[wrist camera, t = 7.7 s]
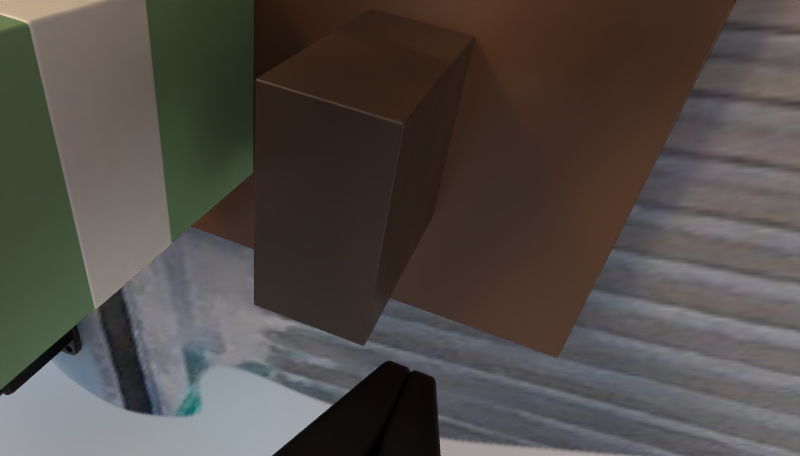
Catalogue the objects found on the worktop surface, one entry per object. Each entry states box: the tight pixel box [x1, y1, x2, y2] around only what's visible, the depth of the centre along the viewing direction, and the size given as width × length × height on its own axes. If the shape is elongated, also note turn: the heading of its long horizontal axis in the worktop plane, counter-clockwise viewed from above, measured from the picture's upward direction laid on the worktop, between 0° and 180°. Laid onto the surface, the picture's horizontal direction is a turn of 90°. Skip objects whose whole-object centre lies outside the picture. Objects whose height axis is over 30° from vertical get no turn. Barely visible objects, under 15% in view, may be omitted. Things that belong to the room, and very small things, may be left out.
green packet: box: [0, 0, 254, 390], centre depth 13 cm, size 9×7×12 cm
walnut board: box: [191, 0, 736, 357], centre depth 15 cm, size 22×14×7 cm, turn 79°
